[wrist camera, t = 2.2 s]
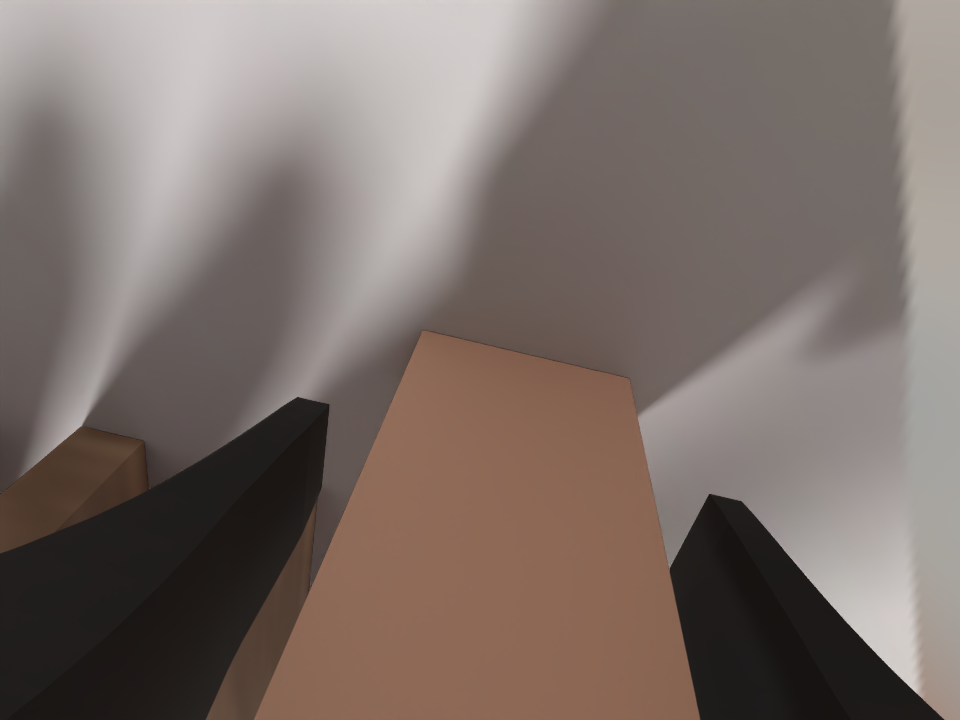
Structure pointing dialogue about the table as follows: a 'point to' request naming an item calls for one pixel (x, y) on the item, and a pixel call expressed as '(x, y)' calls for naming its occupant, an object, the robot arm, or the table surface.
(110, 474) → the walnut tile
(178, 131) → the table surface
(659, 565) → the terracotta tile
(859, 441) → the table surface
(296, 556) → the walnut tile
